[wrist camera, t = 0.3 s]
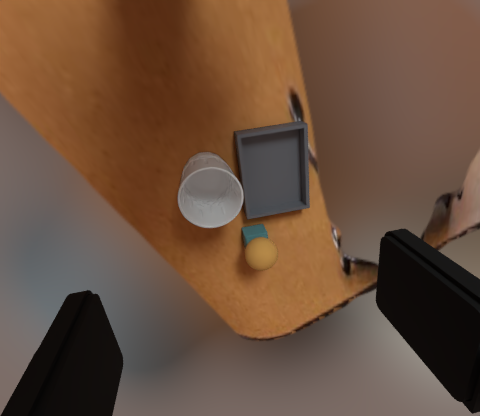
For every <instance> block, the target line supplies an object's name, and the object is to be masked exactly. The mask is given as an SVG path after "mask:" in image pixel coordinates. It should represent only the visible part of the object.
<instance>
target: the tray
mask: <svg viewBox="0 0 480 416" xmlns="http://www.w3.org/2000/svg"><path fill="white" fill-rule="evenodd" d="M234 136H235V143H236V151H237V159H238V167H239V174H240V182H241V186H242V189H243V195H244V198H243V205H244V212H245V215H246V217H247V219H252V218H258V217H263V216H268V215H274V214H279V213H284V212H290V211H295V210H300V209H305V208H310V205H309V166H308V127H307V123H304V122H302V121H298V122H291V123H285V124H279V125H272V126H266V127H260V128H253V129H247V130H241V131H234Z"/></svg>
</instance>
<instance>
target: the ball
mask: <svg viewBox="0 0 480 416" xmlns="http://www.w3.org/2000/svg"><path fill="white" fill-rule="evenodd" d="M277 257H278V251H277V247H276V245H275V244H274V243H273V242H272V241H271V240H270V239H268V238H265V237H258V238H254V239H253V240H251V241H250V242H249V243H248V244H247V246H246V248H245V259H246V261H247V263H248V264H249V266H251V267H252V268H253V269H256V270H260V271H263V270H267V269H269V268H271V267H272V266H273V265H274V264H275V263H276V261H277Z"/></svg>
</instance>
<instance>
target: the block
mask: <svg viewBox="0 0 480 416" xmlns="http://www.w3.org/2000/svg"><path fill="white" fill-rule="evenodd" d="M242 234H243V242H244V247H245V248H246V246H247V244H248V243H249V242H250V241H251V240H253V239H254V238H258V237H265V238H268V235H267V231H266V229H265V227H264V225H263V224H259V225H253V226H248V227H243V228H242Z"/></svg>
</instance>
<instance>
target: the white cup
mask: <svg viewBox="0 0 480 416" xmlns="http://www.w3.org/2000/svg"><path fill="white" fill-rule="evenodd" d="M243 198H244V195H243V189H242V186H241V184H240V182H239V181H238V179H237V178H236V176H235V175H234V173H233V171H232V170H231V169H230V167H229V166H228V165H227V163H226V162H225V161H224V160H223V159H222V158H221V157H220V156H219V155H217V154H214V153H211V152H202V153H197V154H195V155H194V156H192V157H191V158H189V160H188V161H187V163H186V164H185V166H184V170H183V172H182V176H181V180H180V186H179V191H178V205H179V208H180V211H181V213H182V214H183V216H184V217H185V218H186V219H187V220H188V221H189V222H191V223H192V224H194V225H196V226H199V227H203V228H216V227H220V226H223V225H225V224H227V223H229V222H230V221H232V220H233V219H234V218H235V217H236V216H237V215H238V213H239V212H240V210H241V207H242V204H243Z"/></svg>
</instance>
